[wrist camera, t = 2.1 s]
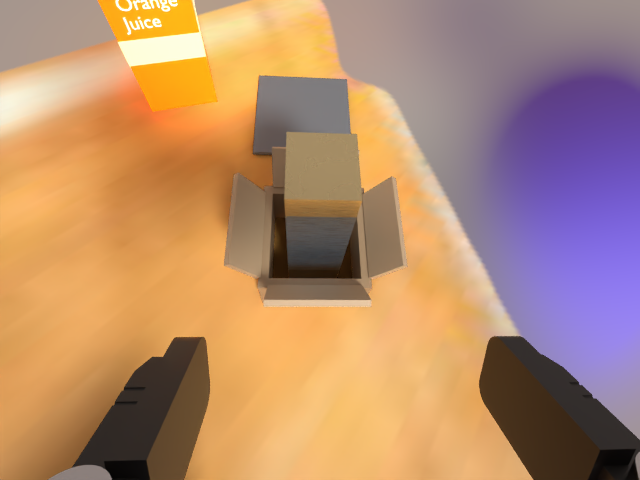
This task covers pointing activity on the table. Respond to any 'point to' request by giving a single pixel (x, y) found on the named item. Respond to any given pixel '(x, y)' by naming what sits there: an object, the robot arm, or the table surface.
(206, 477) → the table surface
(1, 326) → the table surface
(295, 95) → the felt mat
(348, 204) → the tall two-tone pillar
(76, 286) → the table surface
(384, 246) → the carton
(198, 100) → the orange juice
